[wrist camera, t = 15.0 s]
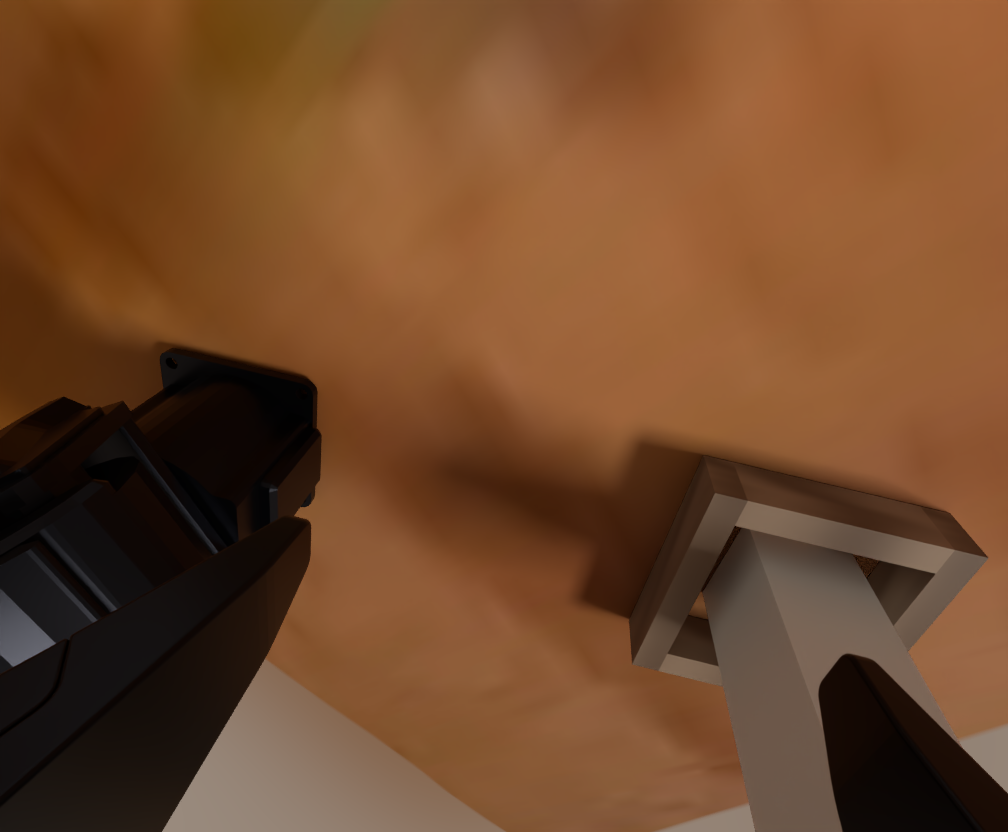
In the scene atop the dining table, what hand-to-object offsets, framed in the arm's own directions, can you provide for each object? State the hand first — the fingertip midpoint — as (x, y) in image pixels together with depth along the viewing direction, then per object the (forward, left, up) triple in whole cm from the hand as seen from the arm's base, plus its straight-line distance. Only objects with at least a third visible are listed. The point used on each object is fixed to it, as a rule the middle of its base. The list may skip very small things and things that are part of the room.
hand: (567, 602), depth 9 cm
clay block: (+11, -9, -13) cm, 19 cm away
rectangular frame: (+11, -9, -13) cm, 19 cm away
